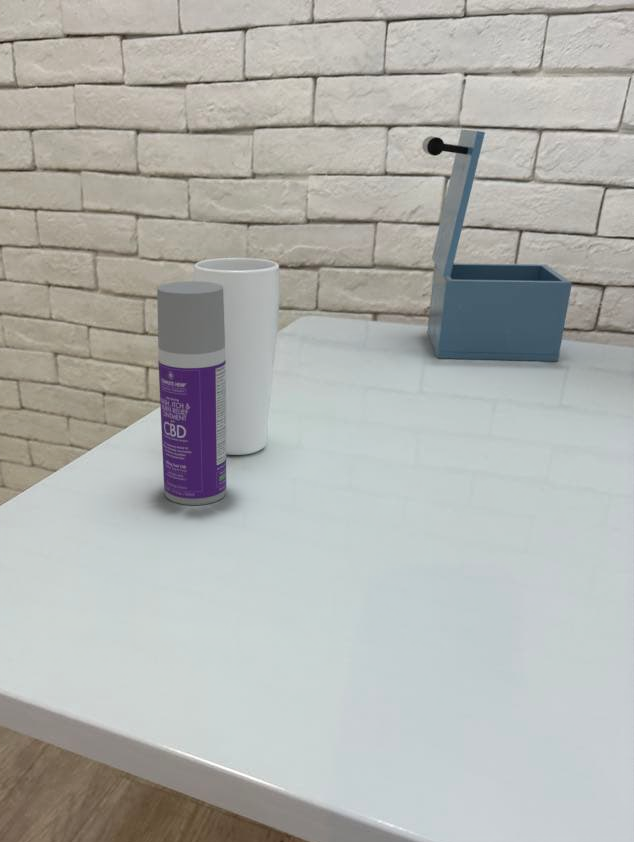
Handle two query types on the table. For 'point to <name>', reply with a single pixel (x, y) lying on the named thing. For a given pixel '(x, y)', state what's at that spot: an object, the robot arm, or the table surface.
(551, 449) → the table surface
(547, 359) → the blue storage box
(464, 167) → the lid
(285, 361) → the table surface
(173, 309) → the container
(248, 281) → the drinking glass
